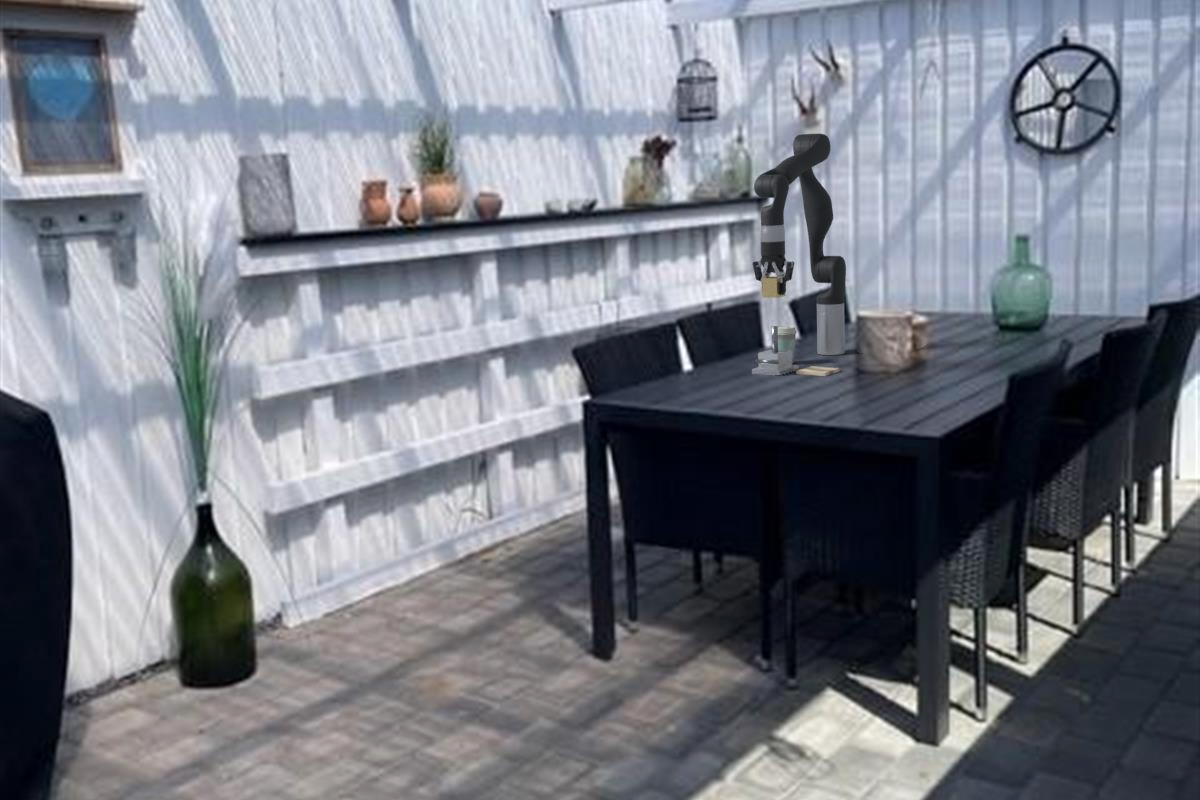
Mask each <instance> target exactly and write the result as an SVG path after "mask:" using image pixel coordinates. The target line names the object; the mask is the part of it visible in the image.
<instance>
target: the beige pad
mask: <svg viewBox="0 0 1200 800" xmlns="http://www.w3.org/2000/svg"><path fill="white" fill-rule="evenodd" d="M838 372H841V367H830V366H817V365H816V366H815V365H814V366H813V365H812V366H807V367H805V368H800V369H799V370H797V371H795V373H796V375H805V376H817V377H818V376H819V377H820V376H821V377H826V376H829V375H833V374H836V373H838Z"/></svg>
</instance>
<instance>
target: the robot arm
mask: <svg viewBox="0 0 1200 800" xmlns="http://www.w3.org/2000/svg"><path fill="white" fill-rule="evenodd" d="M792 145H793V146H792V149H793V150H792V151H793V155H792V156H789V157H786V158H785V159H784V160H783V161H781V162H779V164H778V165H776V166H775V167H774V168H772V169H768V170H767V171H765V172H763V173H761V174H760V175H758V176H757V178H756V180H755V181H754V185H753V190H754V193H755V195H757V196H758V197H759V198H762V199H769V198H770V199H773V202H772V203H771V204H769V205H765V206H763V207H761V209H760V239H759V240H760V255H761V258H760V260H757V261H753V262H752V267H753V268H752V269H753V273H754V276H755V280H756V281H759V282H760V283H761V284H762V278H766V277H771V275H772V273H773V274H775V275H776V276H775V277H778V278H779V282H780V283H779V294H780V295H784V294H785V295H786V292H787V282H789V281H792V279H793V274H794V267H795V262H794V261H793V260H792V261H789V260H787V258H786V257H785V256H786V232H785V231H786V230H785V225H784V223H785V219H784V218H785V217H784V214H785V213H784V212H785V206H786V203H787V198H788V195H789V191H790V186H791V184H792V183H793V182H794V181H796V180H797V178H798V179H799V183H800V188H801V189H800V190H801V195H802V202H803V205H802V206H803V212H804V217H805V223H806V228H807V237H808V243H809V244H808V245H809V247H808V248H809V261H810V273H811V277H812V280H813V281H814V282H815V283H818V284H830V288H829V289H828V290H826V291H825V292H822V293H820V294H818V295H817V296H816V345H817V347H816V350H817V351H816V352H817V354H818V355H821V356H822V355H823V356H835V355H844V354H845V353H846V325H845V296H846V278H847V266H846V260H845V259H844V256H842V255H824V241H825V238H826V237H827V234H828V232H829V231H830V228H831V225H832V224H833V221H834V211H833V203H832V199H831V196H830V194H829V192H828V191H827V190H826V189H825V187H824V186H823V184H821V182H820V181H819V180H818V178H817V177H816V175H815V172H814V171H813V168H814V167H816V166H817V165H819V164H821V163H823V162H825V161H826V160H827V159H828V158H829V156H830V153H831V148H832V147H831V141H830V138H829V137H828V136H827V135H826V134H824V133H807V134H805V133H804V134H797V135H796V136H795V137H794V139H793V144H792ZM762 267H763V269H762ZM784 267H785V268H786V269H784Z"/></svg>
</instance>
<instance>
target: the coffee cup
mask: <svg viewBox="0 0 1200 800" xmlns="http://www.w3.org/2000/svg"><path fill="white" fill-rule="evenodd" d="M777 326H778V349H780V350H792V363H793V364H794V358H795V357H794V356H795V349H796V347H795V345H796V338H797V337H796V336H797V334H798V333H797V329H796V326H793V325H777ZM770 335H771V336H772V334H771V332H770Z"/></svg>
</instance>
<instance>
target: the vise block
mask: <svg viewBox="0 0 1200 800" xmlns="http://www.w3.org/2000/svg"><path fill="white" fill-rule="evenodd" d="M778 326H779V325H773V326H772V325H771V326H770V327H771V329H770V330H771V331H770V333H771V334H772V335H771V334H770V335H771V349H768V350H764V351H760V352H757V359H755V360H754V363H757V365H758V367H754V368H751V374H752V375H761V376H762V375H763V376H775V375H781V376H783V375H782V374H784V375H787V374H786V373H788V374H790V373H789V372H791V373H793V372H792V371H794V372H796V370H800V368H799V367H800V366H799V364H798V365H797V364H796V365H795V364H792V350H780V349H778Z"/></svg>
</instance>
